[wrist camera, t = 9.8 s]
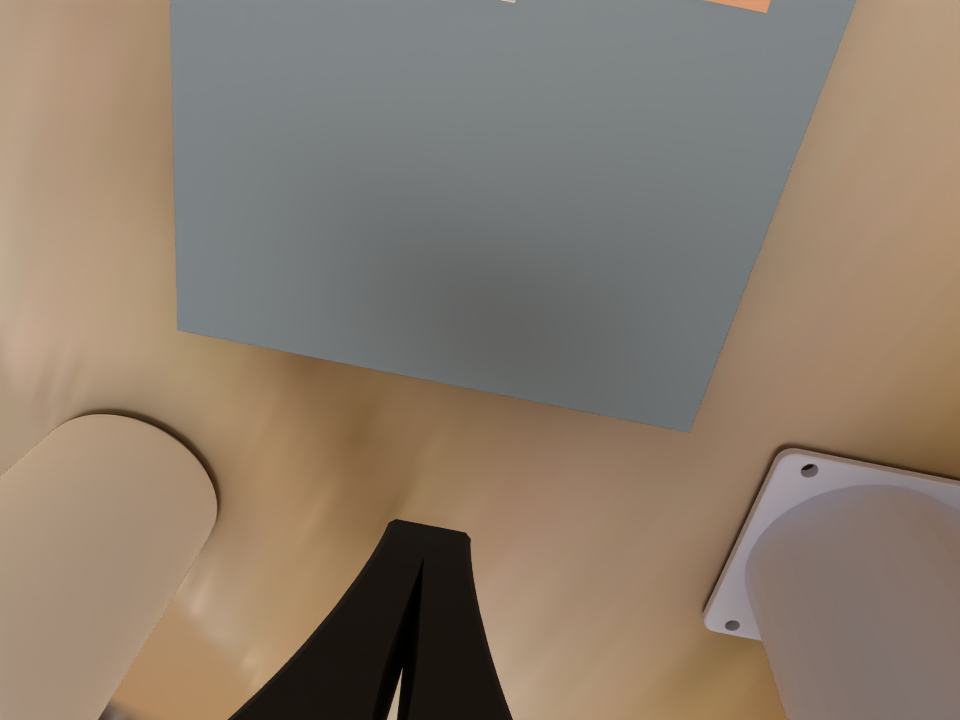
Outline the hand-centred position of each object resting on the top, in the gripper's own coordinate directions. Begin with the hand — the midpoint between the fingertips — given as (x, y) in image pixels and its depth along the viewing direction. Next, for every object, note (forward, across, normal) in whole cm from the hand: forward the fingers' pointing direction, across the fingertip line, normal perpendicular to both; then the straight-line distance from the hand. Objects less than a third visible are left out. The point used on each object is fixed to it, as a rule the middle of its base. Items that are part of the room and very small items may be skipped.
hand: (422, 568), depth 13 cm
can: (+11, +11, +9) cm, 18 cm away
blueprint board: (+10, +1, -7) cm, 13 cm away
